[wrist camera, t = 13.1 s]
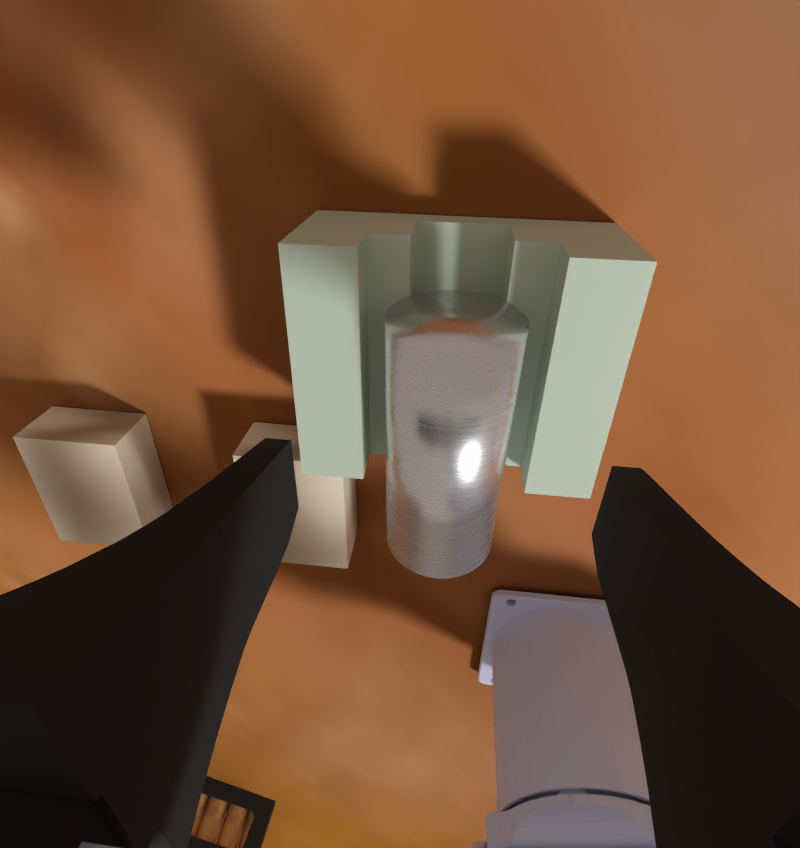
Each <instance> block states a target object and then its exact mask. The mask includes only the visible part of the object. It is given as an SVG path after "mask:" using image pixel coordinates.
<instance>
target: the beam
mask: <svg viewBox="0 0 800 848" xmlns="http://www.w3.org/2000/svg"><path fill="white" fill-rule="evenodd" d="M265 438H272V439H284V440H291V444H292V453H293V461H294V470H295V479H296V488H297V496H298V505H299V508H298V512H297V516H296V519H295V523H294V527H293V530H292V533H291V537H290V540H289V543H288V546H287V549H286V551H285V554H284V556H283V558H282V561H281V562H284V563H294V564H304V565H314V566H324V567H334V568H344V569H348V566H349V562H350V558H351V554H352V550H353V546H354V542H355V538H356V534H357V504H356V479H355V478H344V477H332V476H320V475H309V474H302V468H301V459H300V449H299V440H298V430H297V425H284V424H272V423H259V422H253V424H252V426H251V427H250V429H249V430H248V432H247V433H246V435H245V436H244V438H243V440H242V441H241V443H240V444H239V446H238V447H237V449H236V451H235V452H234V454H233V455H232V456H233V461H234V462H235V461H237V460H238V459H239V458H240V457H242V456H243V455H244V454H245V453H247V452H248V451H249V450H250V449H252V448H253V447H254V446H256V445H257V444H258V443H259V442H261V441H262V440H263V439H265ZM13 439H14V441H15V443H16V445H17V448H18V450H19V452H20V454H21V456H22V458H23V461H24V463H25V465H26V467H27V469H28V471H29V473H30V476H31V478H32V480H33V482H34V484H35V486H36V489H37V491H38V493H39V495H40V497H41V499H42V501H43V504H44V506H45V508H46V510H47V512H48V514H49V517H50V519H51V521H52V523H53V525H54V527H55V529H56V532H57V534H58V536H59V538H60V540H65V541H75V542H85V543H95V544H105V545H112V544H114V543H116V542H117V541H119V540H121V539H123V538H125V537H126V536H128V535H130V534H132V533H133V532H135V531H137V530H138V529H140V528H142V527H144V526H145V525H147V524H149V523H150V522H152V521H153V520H155V519H157V518H158V517H160V516H161V515H163V514H164V513H166V512H167V511H169V510H170V509H172V508H173V506H172V502H171V499H170V495H169V492H168V488H167V485H166V481H165V478H164V475H163V471H162V468H161V464H160V461H159V457H158V454H157V450H156V447H155V443H154V440H153V436H152V433H151V429H150V426H149V422H148V419H147V416H146V414H143V413H131V412H118V411H105V410H92V409H79V408H67V407H54V406H52V407H51V408H49V409H48V410H47V411H46V412H44V413H43V414H42V415H40V416H39V417H38V418H37V419H35V420H34V421H33V422H31V423H30V424H29V425H27V426H26V427H25V428H24V429H22V430H21V431H20V432H18V433H17V434H16V435H15V436H13Z"/></svg>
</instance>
